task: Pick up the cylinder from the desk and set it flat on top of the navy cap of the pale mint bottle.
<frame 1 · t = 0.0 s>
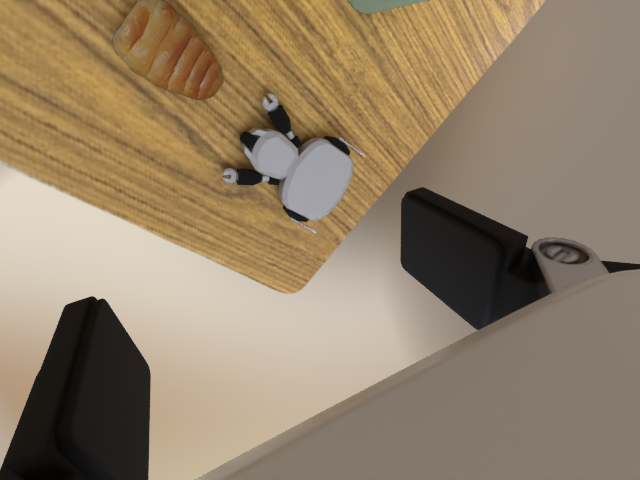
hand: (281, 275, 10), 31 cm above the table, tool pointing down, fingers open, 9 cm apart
pastry: (168, 49, 31), on the table
robot toy: (288, 162, 42), on the table
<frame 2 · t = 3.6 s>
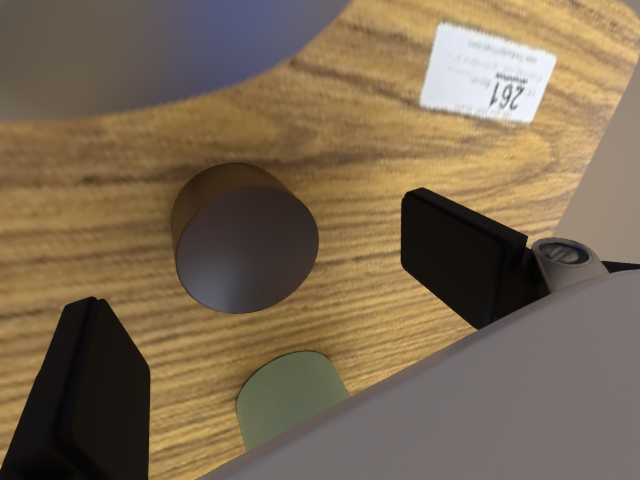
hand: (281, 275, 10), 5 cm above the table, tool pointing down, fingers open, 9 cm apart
bottle: (287, 390, 20), on the table
cylinder: (235, 221, 13), on the table
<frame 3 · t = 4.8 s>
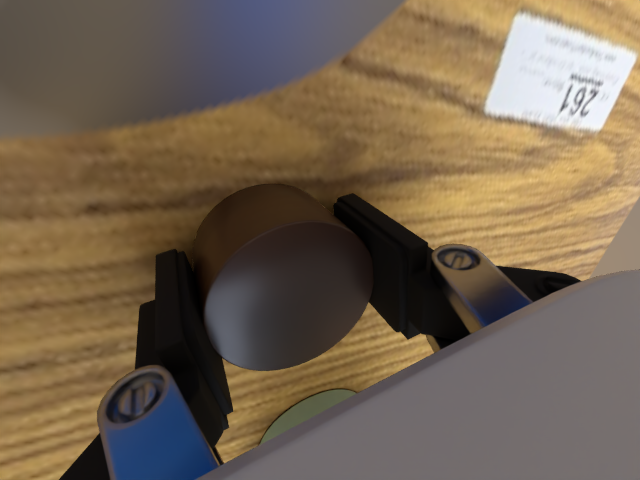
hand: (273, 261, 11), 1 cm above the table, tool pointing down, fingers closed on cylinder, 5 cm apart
bottle: (314, 431, 18), on the table
cylinder: (267, 252, 11), on the table, touching gripper
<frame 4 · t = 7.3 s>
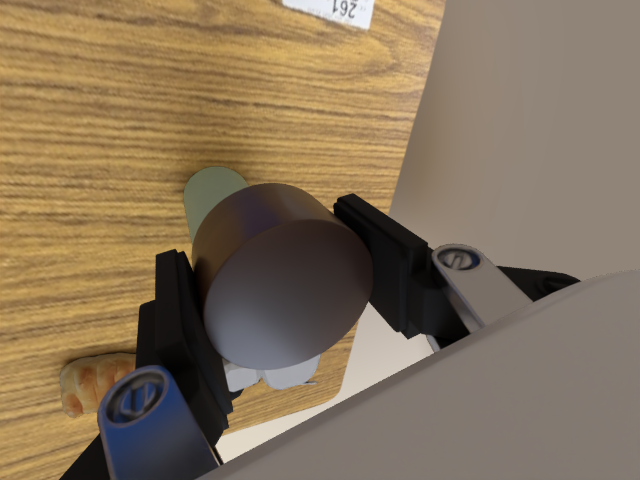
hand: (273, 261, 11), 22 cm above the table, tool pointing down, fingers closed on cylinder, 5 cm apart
bottle: (217, 197, 32), on the table
pastry: (110, 369, 36), on the table
cylinder: (267, 251, 11), point 22 cm above the table, touching gripper
robot toy: (259, 345, 43), on the table
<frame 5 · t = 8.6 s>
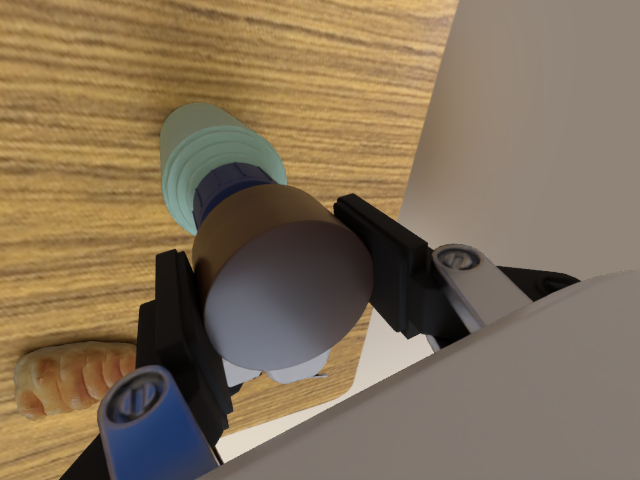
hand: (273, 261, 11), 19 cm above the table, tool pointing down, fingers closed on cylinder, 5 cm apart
cap: (250, 224, 13), point 16 cm above the table, screwed on, not yet turned
bottle: (204, 145, 25), on the table
pastry: (81, 361, 30), on the table
cylinder: (267, 252, 11), point 18 cm above the table, touching gripper
robot toy: (261, 333, 37), on the table
when the fingers open (17 cm above the table, at t = 9.7 s): cylinder stays where it is, resting on cap.
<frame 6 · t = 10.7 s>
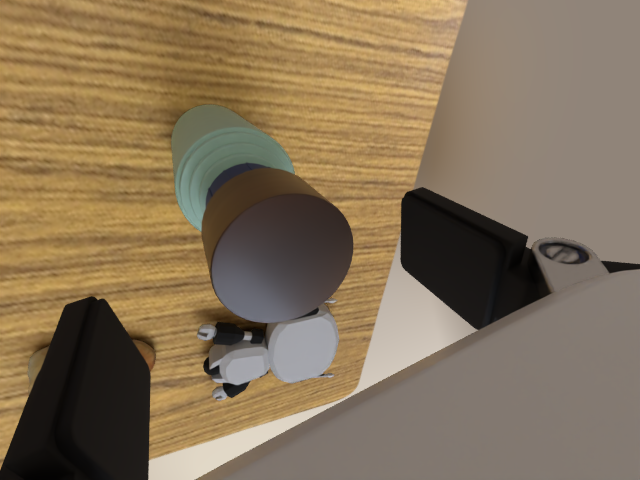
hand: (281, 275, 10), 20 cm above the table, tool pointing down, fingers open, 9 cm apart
cap: (261, 223, 13), point 16 cm above the table, screwed on, not yet turned, touching cylinder
bottle: (214, 146, 26), on the table
pastry: (92, 357, 30), on the table
cylinder: (265, 227, 13), point 16 cm above the table, touching cap
robot toy: (267, 332, 38), on the table
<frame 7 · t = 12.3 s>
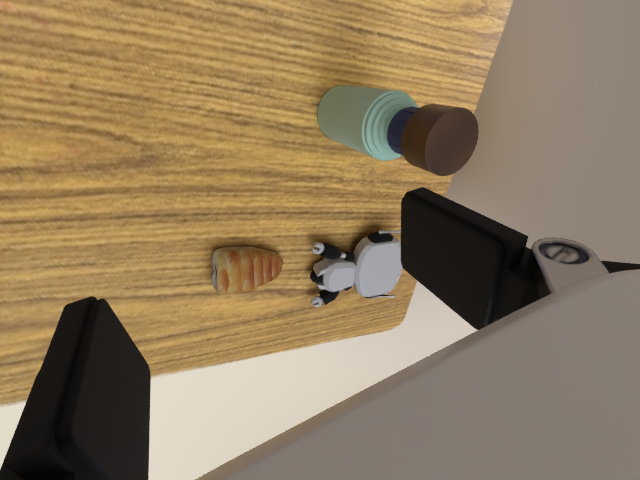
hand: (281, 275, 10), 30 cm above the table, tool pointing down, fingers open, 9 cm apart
cap: (422, 135, 27), point 16 cm above the table, screwed on, not yet turned, touching cylinder
bottle: (341, 113, 39), on the table
pastry: (241, 262, 43), on the table
cylinder: (426, 136, 26), point 16 cm above the table, touching cap
robot toy: (349, 260, 51), on the table
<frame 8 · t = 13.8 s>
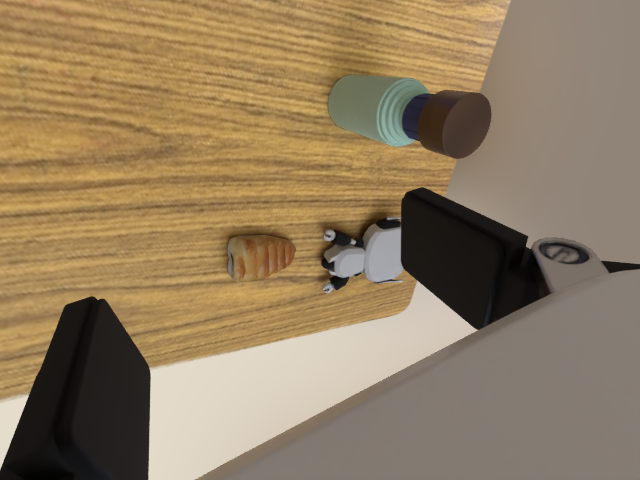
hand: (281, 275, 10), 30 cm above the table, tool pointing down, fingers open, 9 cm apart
cap: (436, 120, 28), point 16 cm above the table, screwed on, not yet turned, touching cylinder
bottle: (350, 102, 40), on the table
pastry: (254, 250, 44), on the table
cylinder: (440, 121, 28), point 16 cm above the table, touching cap
robot toy: (357, 247, 52), on the table
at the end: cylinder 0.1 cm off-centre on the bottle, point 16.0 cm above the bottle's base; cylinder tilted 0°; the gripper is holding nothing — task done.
